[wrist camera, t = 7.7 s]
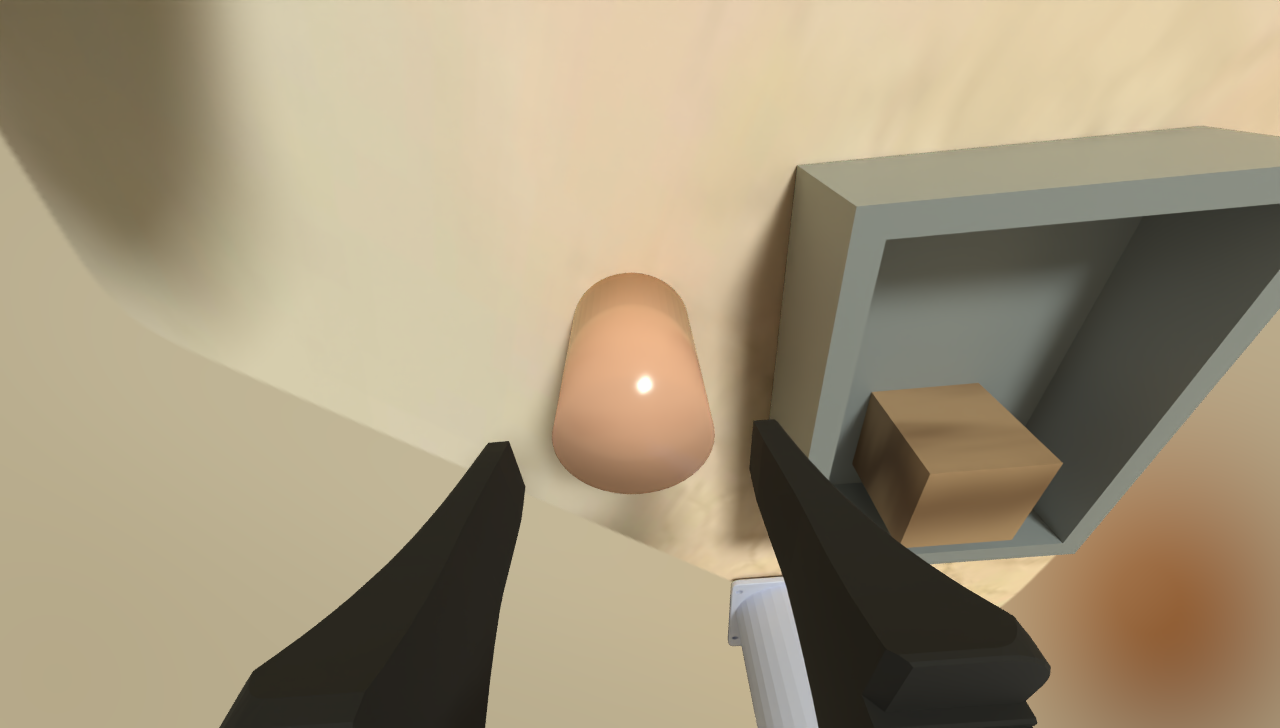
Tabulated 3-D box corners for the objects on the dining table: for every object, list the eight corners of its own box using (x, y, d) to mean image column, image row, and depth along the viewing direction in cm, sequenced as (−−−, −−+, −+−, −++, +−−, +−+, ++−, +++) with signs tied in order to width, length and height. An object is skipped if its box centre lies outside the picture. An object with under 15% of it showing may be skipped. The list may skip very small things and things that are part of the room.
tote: (1003, 473, 26) (1074, 553, 22) (761, 492, 26) (786, 574, 22) (1203, 125, 16) (1408, 154, 11) (797, 165, 16) (856, 206, 12)
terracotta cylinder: (689, 367, 21) (713, 488, 15) (583, 376, 21) (567, 499, 15) (686, 267, 18) (715, 369, 12) (563, 279, 18) (535, 384, 13)
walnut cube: (946, 456, 24) (1011, 539, 20) (852, 463, 24) (898, 548, 20) (978, 382, 21) (1063, 463, 17) (871, 391, 21) (930, 473, 17)
